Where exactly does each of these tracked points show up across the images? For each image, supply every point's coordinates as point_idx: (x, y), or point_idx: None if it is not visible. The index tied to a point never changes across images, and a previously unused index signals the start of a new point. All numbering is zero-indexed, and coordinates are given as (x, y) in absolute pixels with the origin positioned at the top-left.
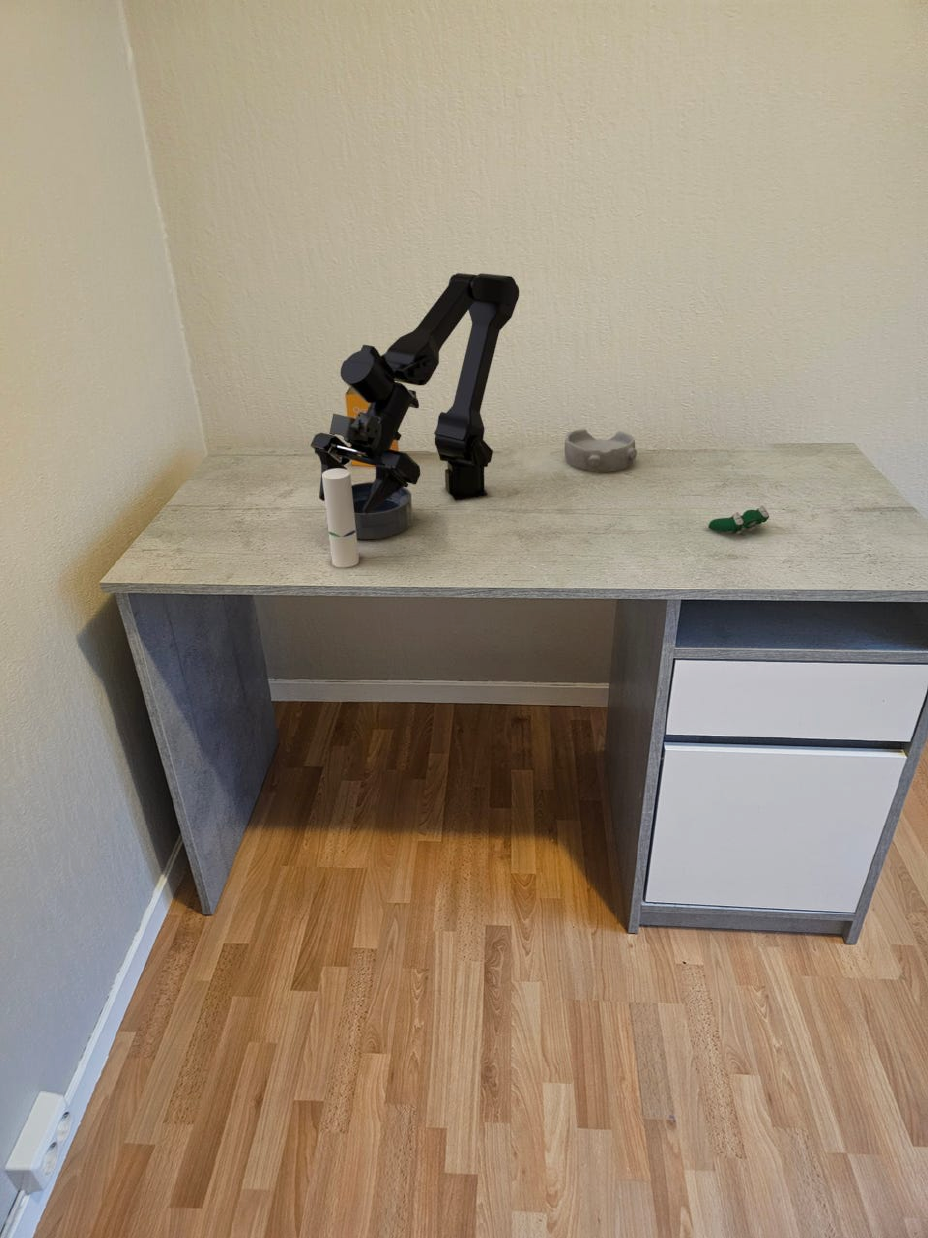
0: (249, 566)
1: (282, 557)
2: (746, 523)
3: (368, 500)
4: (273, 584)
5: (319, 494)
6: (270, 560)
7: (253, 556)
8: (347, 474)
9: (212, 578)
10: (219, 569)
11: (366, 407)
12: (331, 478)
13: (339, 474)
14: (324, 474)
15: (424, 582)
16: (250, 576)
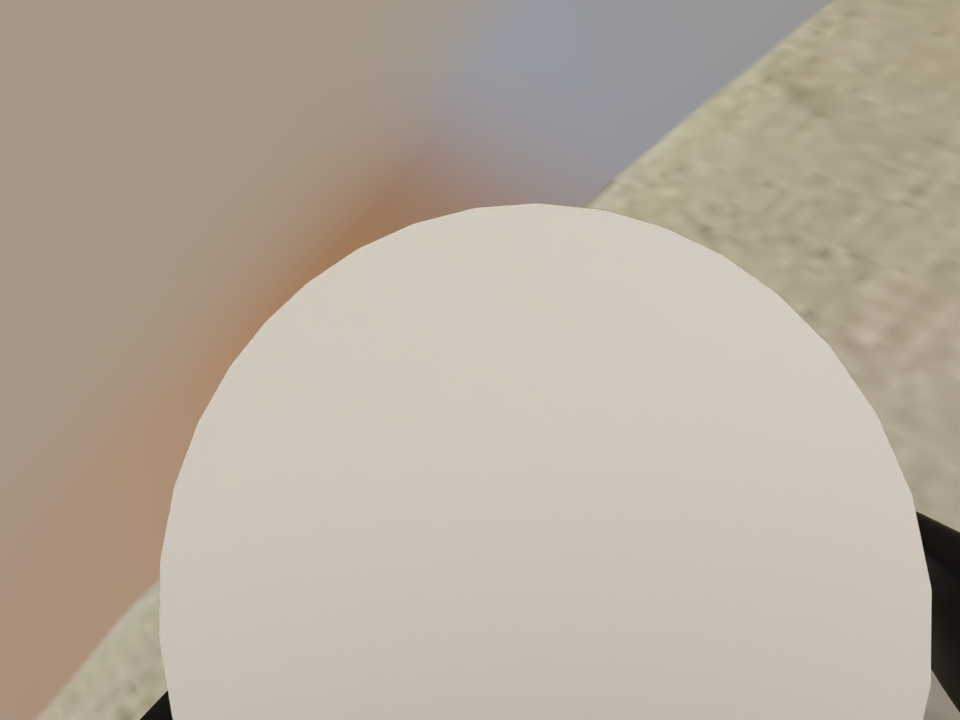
0: (846, 189)
1: (834, 338)
2: None
3: (162, 717)
4: (611, 191)
5: (940, 526)
6: (842, 282)
7: (945, 244)
8: (218, 707)
9: (838, 46)
10: (907, 90)
11: None
12: (350, 280)
13: (387, 557)
14: (664, 293)
15: (126, 658)
16: (746, 155)
